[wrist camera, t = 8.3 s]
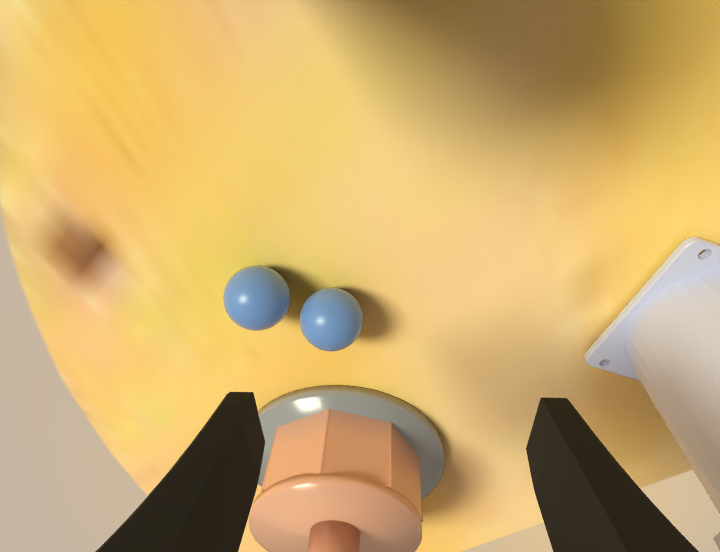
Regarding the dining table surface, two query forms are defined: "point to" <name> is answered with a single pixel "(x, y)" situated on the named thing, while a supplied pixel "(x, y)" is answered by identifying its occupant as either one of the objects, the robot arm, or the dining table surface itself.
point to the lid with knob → (339, 488)
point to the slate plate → (364, 404)
